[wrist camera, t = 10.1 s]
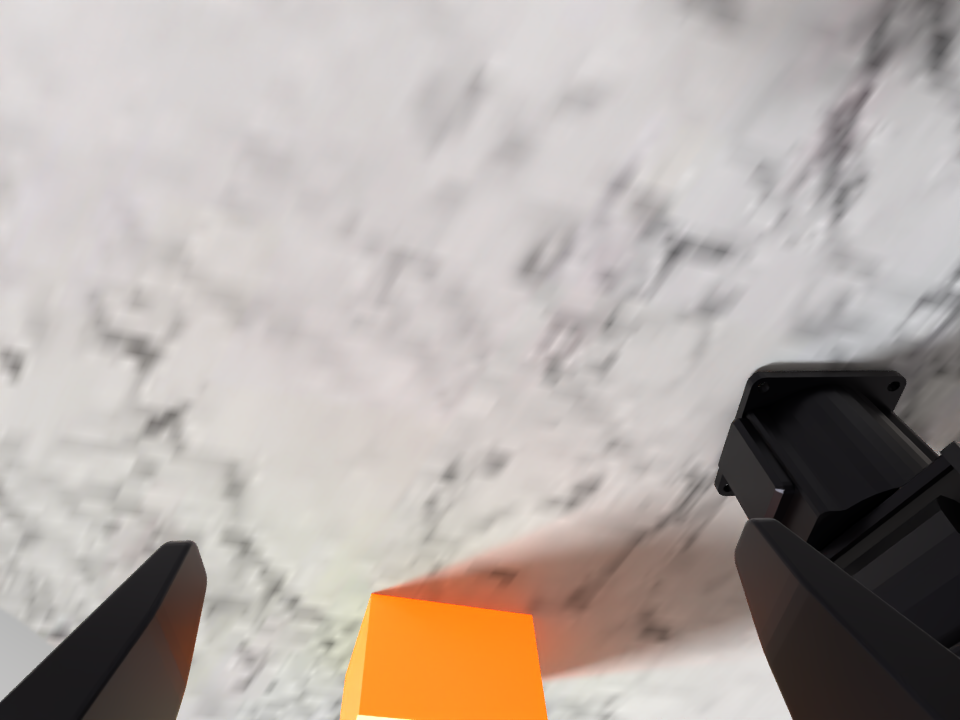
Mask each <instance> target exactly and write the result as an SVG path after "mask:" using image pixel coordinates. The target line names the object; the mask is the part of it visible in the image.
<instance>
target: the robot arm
mask: <svg viewBox="0 0 960 720" xmlns="http://www.w3.org/2000/svg"><path fill="white" fill-rule="evenodd" d="M764 382H765V383H764ZM761 383H764V384H763V385H762V386H760V387H758V385H759V384H761ZM890 383H891V384H890ZM889 384H890V385H889ZM905 386H906V379H905V378H904V377H903V376H901V375H900V374H899V373H898V372H897V371H793V372H758V373H755V374H753V375H752V376H751V377H750V378H749V379H748V381H747V383H746V386H745V389H744V392H743V396H742V399H741V402H740V405H739V408H738V411H737V414H736V417H735V419H734V421H733V422H732V423H731V426H730V429H729V432H728V436H727V439H726V442H725V445H724V448H723V451H722V454H721V457H720V461H719V464H718V466H719V470H718V473H717V476H716V479H715V484H714V485H715V487H716V489H717V491H718V492H719V494H721V495H723V496H736V498H737V500H738V501H739V503H740V505H741V507H742V508H743V510H744V512H745V514H746V515H747V517H748V519H749V520H748V521H747V522H746V524H745V526H744V529H743V531H742V534H741V536H740V539H739V541H738V544H737V546H736V549H735V564H736V567H737V570H738V574H739V577H740V580H741V583H742V586H743V589H744V592H745V596H746V599H747V602H748V605H749V608H750V611H751V615H752V618H753V621H754V624H755V627H756V630H757V633H758V637H759V640H760V642H761V645H762V648H763V651H764V654H765V656H766V658H767V661H768V663H769V666H770V668H771V671H772V673H773V675H774V677H775V680H776V682H777V684H778V687H779V689H780V691H781V694H782V696H783V698H784V701H785V703H786V705H787V707H788V710H789V712H790V714H791V717H792V719H793V720H960V444H959V443H957V442H955V441H953V442H952V443H951V444H949V445H948V446H947V447H946V448H944V449H943V450H942V451H940V453H941V454H942V455H940V456H938V455H937V454H936V453H935V452H934V451H933V450H932V449H931V448H930V447H929V446H928V445H927V444H926V443H925V442H924V441H923V440H922V439H921V438H920V437H919V436H918V435H916V434H915V433H914V432H913V431H912V430H911V429H910V428H909V427H908V426H907V425H906V424H905V423H904V422H903V421H902V420H901V419H900V418H899V417H898V416H897V415H896V414H895V413H893V410H894V408H895V406H896V404H897V402H898V400H899V398H900V396H901V394H902V392H903V390H904V388H905ZM727 484H728V485H727ZM206 587H207V575H206V571H205V568H204V565H203V562H202V559H201V556H200V553H199V550H198V547H197V545H196V543H195V542H193V541H190V540H187V541H170V542H166V543H165V544H163V545H162V546H161V547H160V548H159V549H158V550H157V551H156V552H155V553H154V554H152V555H151V556H150V557H149V558H148V559H147V560H146V561H145V562H144V563H143V564H142V565H141V566H140V567H139V568H138V569H137V570H136V571H135V572H134V573H133V574H132V575H131V576H130V577H129V578H128V579H127V580H126V581H125V582H124V583H123V584H121V585H120V586H119V587H118V588H117V589H116V590H115V591H114V592H113V593H112V594H111V595H110V596H109V597H108V598H107V599H106V600H105V601H104V602H103V603H102V604H101V605H100V606H99V607H98V608H97V609H96V610H95V611H94V612H93V613H92V614H90V615H89V616H88V617H87V618H86V619H85V620H84V621H83V622H82V623H81V624H80V625H79V626H78V627H77V628H76V629H75V630H74V631H73V632H72V633H71V634H70V635H69V636H68V637H67V638H66V639H65V640H64V641H63V642H62V643H61V644H60V645H58V646H57V647H56V648H55V649H54V650H53V651H52V652H51V653H50V654H49V655H48V656H47V657H46V658H45V659H44V660H43V661H42V662H41V663H40V664H39V665H38V666H37V667H36V668H35V669H34V670H33V671H32V672H31V673H30V674H29V675H27V676H26V677H25V678H24V679H23V680H22V681H21V682H20V683H19V684H18V685H17V686H16V687H15V688H14V689H13V690H12V691H11V692H10V693H9V694H8V695H7V696H6V697H5V698H4V699H3V700H2V701H1V702H0V720H176V718H177V715H178V712H179V708H180V705H181V702H182V699H183V695H184V692H185V688H186V684H187V680H188V676H189V671H190V666H191V661H192V657H193V652H194V647H195V642H196V637H197V632H198V627H199V622H200V617H201V612H202V607H203V602H204V597H205V592H206Z"/></svg>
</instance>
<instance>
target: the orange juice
mask: <svg viewBox="0 0 960 720" xmlns="http://www.w3.org/2000/svg"><path fill="white" fill-rule="evenodd" d="M340 720H548V719H547V712H546V706H545V699H544V692H543V686H542V679H541V672H540V665H539V659H538V652H537V645H536V639H535V632H534V625H533V618H532V615H527V614H520V613H513V612H505V611H498V610H490V609H483V608H475V607H468V606H460V605H453V604H446V603H438V602H431V601H423V600H416V599H408V598H401V597H393V596H386V595H378V594H371V597H370V600H369V603H368V606H367V610H366V613H365V616H364V619H363V622H362V625H361V629H360V632H359V635H358V638H357V641H356V644H355V648H354V651H353V654H352V657H351V660H350V663H349V667H348V670H347V673H346V677H345V684H344V692H343V700H342V707H341V715H340Z"/></svg>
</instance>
